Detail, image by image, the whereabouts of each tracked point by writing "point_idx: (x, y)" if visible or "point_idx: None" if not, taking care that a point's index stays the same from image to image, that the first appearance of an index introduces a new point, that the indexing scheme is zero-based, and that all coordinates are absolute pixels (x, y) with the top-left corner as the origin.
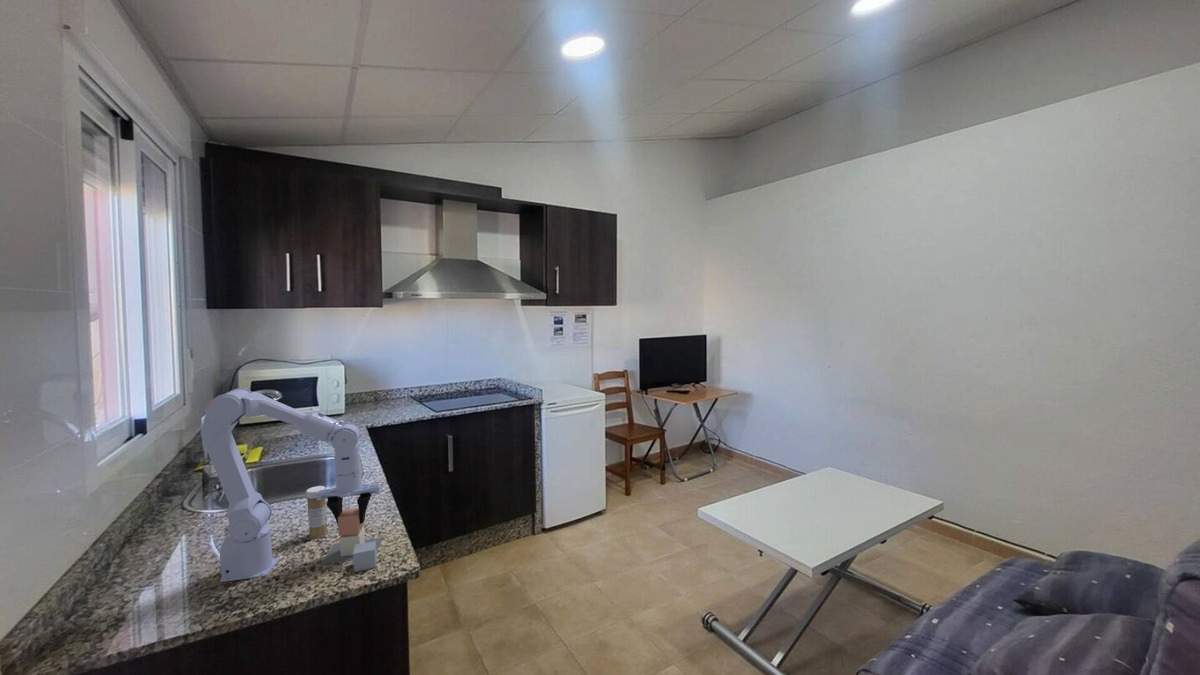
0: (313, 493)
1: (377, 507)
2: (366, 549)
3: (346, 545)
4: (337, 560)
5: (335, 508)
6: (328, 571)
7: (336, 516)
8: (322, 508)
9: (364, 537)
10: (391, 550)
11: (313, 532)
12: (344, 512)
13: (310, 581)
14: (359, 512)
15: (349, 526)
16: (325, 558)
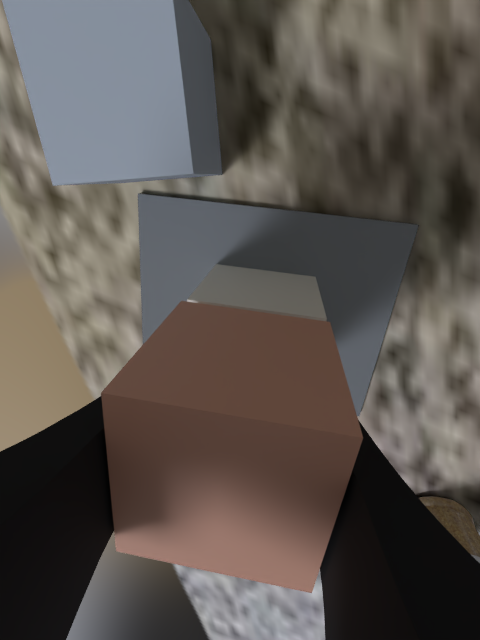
0: None
1: (225, 609)
2: (72, 26)
3: (280, 289)
4: (326, 234)
5: (444, 622)
6: (367, 128)
7: (382, 479)
8: None
9: None
10: (73, 250)
11: (466, 529)
12: (291, 532)
13: (475, 17)
14: (87, 441)
15: (236, 340)
16: (393, 285)
